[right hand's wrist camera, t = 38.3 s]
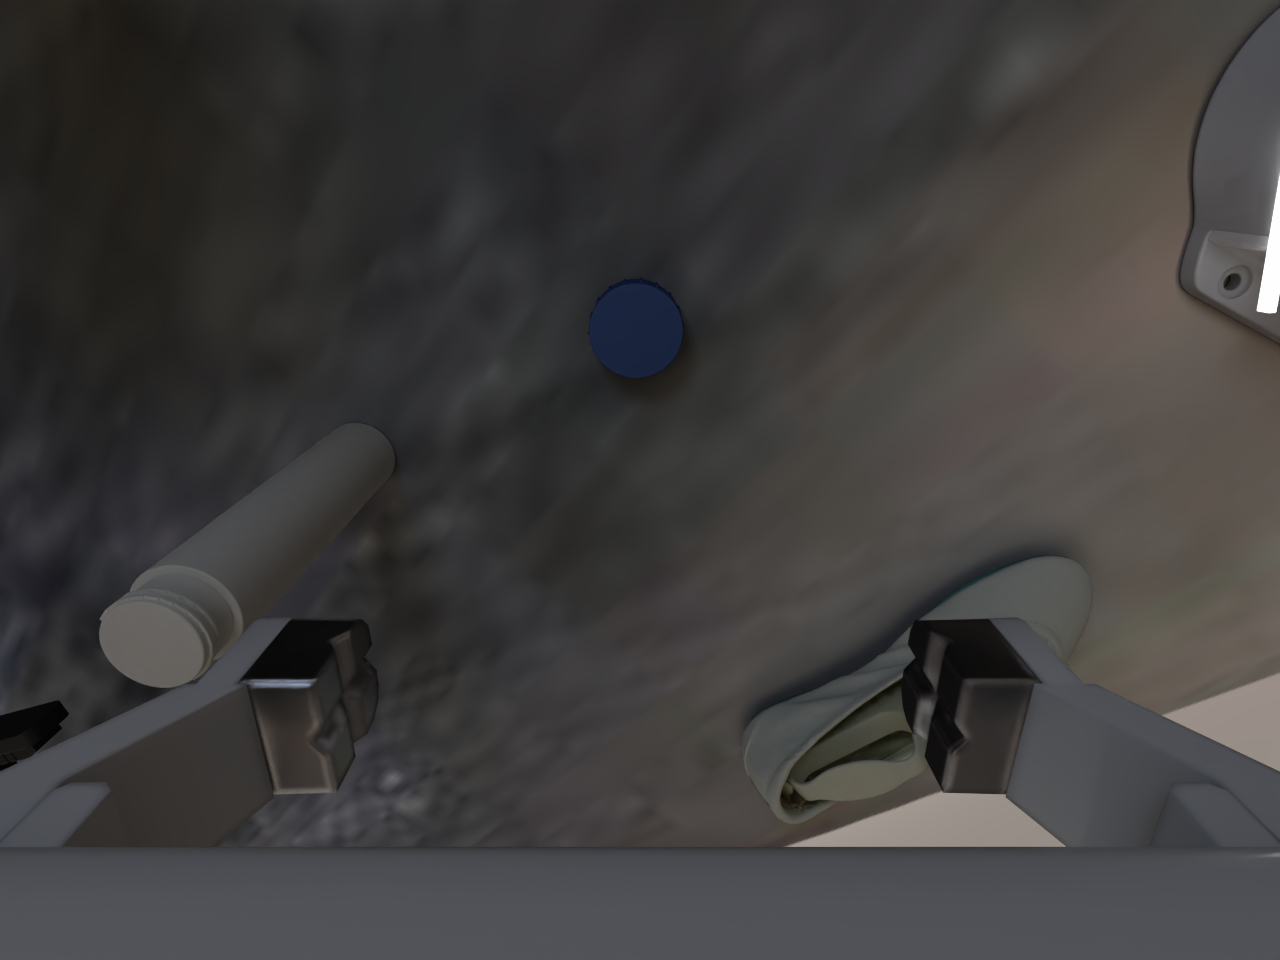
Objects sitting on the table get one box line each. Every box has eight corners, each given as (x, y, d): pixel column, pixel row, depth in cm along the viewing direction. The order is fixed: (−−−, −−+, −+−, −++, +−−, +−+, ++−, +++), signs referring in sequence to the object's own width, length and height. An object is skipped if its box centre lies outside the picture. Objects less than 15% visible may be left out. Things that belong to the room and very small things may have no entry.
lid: (603, 266, 37) (601, 270, 35) (694, 292, 38) (697, 298, 36) (580, 356, 39) (577, 364, 37) (667, 380, 39) (668, 390, 37)
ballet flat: (1105, 618, 45) (1196, 700, 38) (778, 789, 50) (802, 889, 43) (1052, 521, 42) (1138, 588, 35) (713, 712, 48) (727, 805, 40)
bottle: (408, 451, 41) (235, 639, 23) (371, 500, 42) (179, 715, 25) (348, 408, 40) (120, 571, 22) (312, 460, 41) (68, 653, 24)
